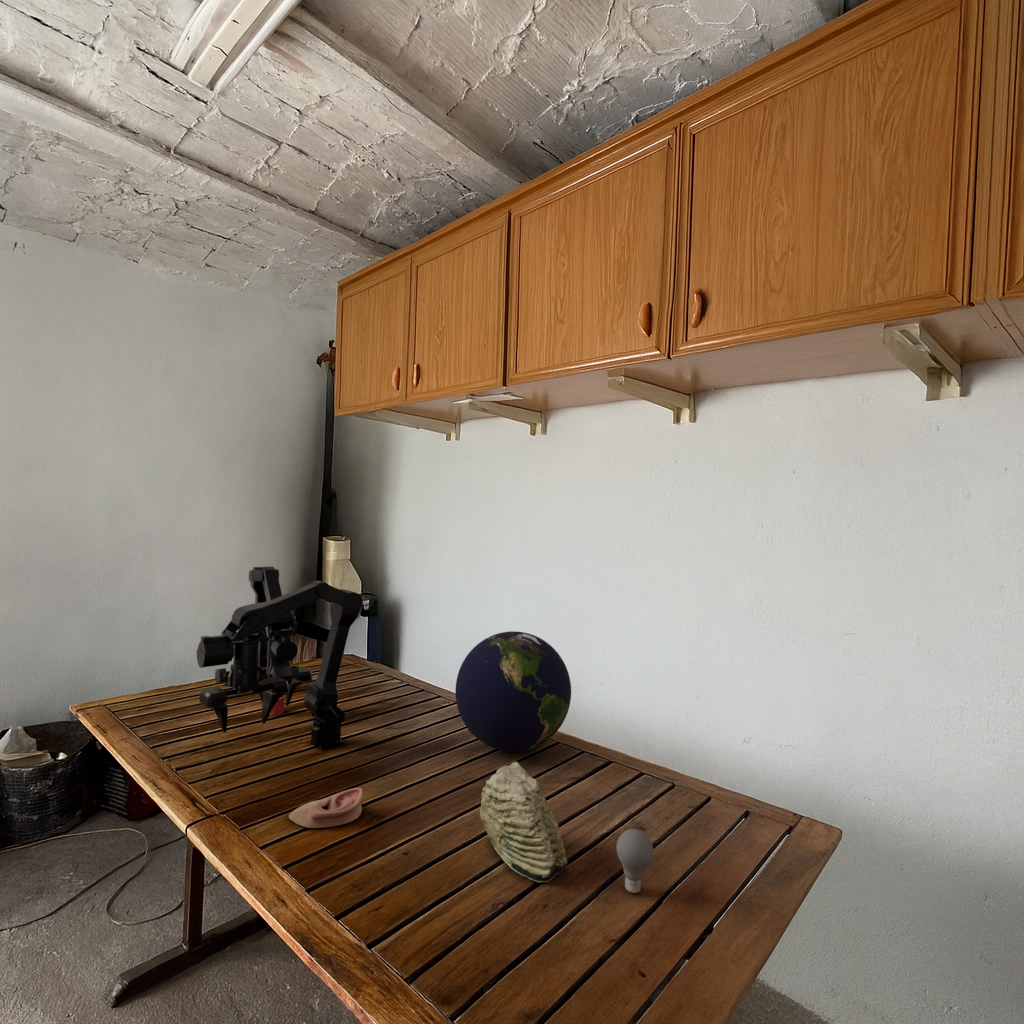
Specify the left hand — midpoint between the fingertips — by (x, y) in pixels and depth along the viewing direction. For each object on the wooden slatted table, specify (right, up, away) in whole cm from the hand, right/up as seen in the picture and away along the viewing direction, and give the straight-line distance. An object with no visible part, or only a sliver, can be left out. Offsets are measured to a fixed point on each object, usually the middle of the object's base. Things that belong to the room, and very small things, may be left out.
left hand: (275, 707), depth 183 cm
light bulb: (+88, -7, -77) cm, 117 cm away
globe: (+68, -5, -18) cm, 70 cm away
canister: (0, -2, 0) cm, 2 cm away
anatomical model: (+31, -4, -56) cm, 64 cm away
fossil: (+69, -6, -68) cm, 97 cm away
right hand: (+5, +6, -34) cm, 35 cm away
